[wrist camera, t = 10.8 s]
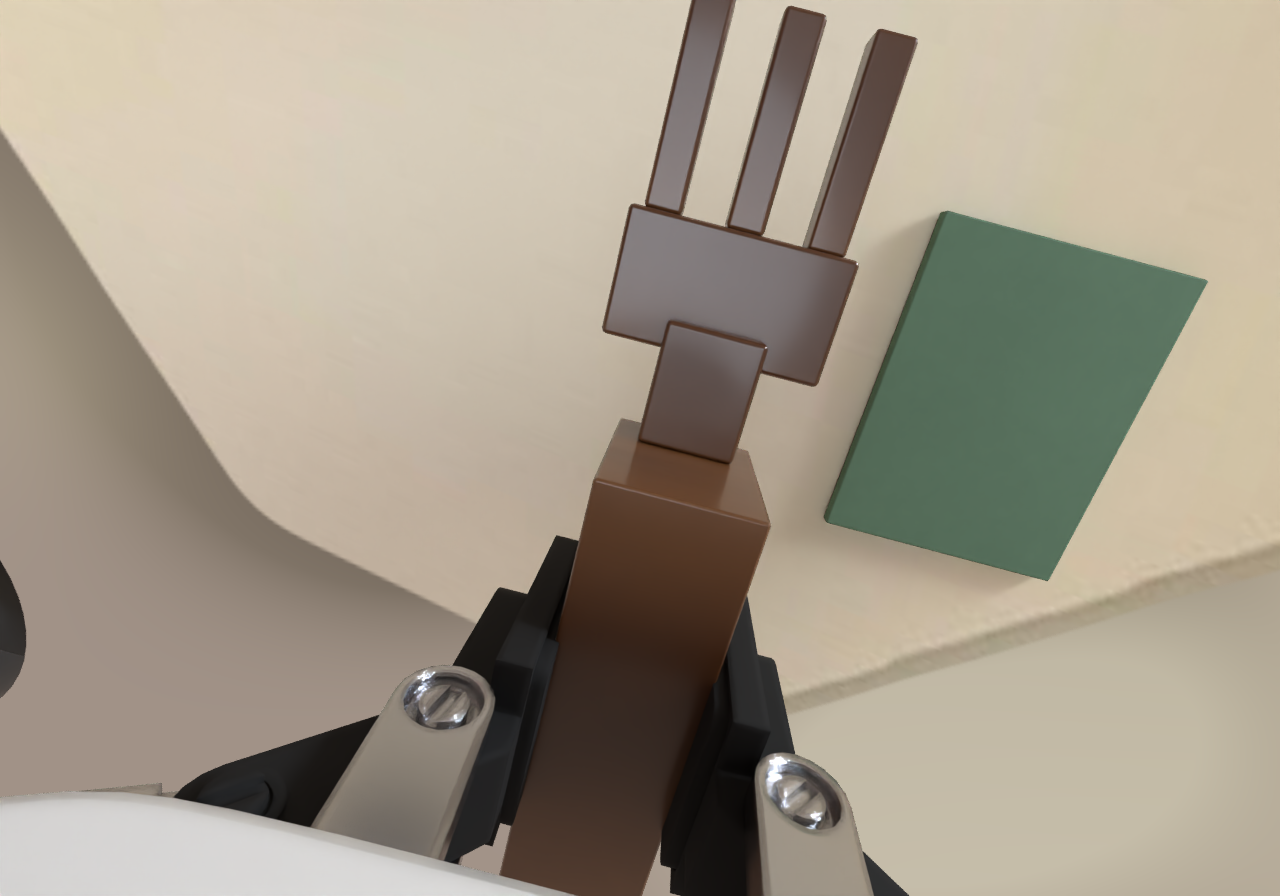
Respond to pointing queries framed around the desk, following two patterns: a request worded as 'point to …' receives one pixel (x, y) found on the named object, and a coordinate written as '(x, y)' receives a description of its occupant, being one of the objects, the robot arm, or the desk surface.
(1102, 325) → the towel
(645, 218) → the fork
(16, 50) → the desk surface
